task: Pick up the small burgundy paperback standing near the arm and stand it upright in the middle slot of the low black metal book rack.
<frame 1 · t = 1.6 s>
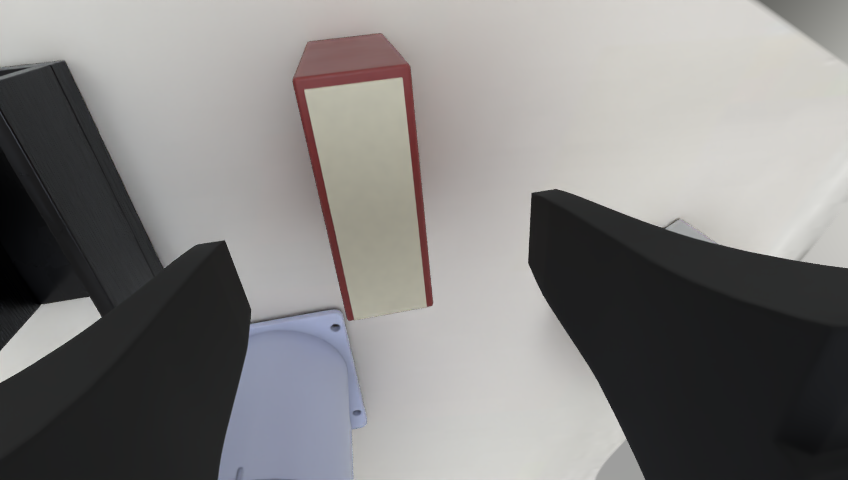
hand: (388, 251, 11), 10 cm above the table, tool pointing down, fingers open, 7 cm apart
book: (360, 135, 20), on the table
soap bottle: (638, 301, 28), on the table
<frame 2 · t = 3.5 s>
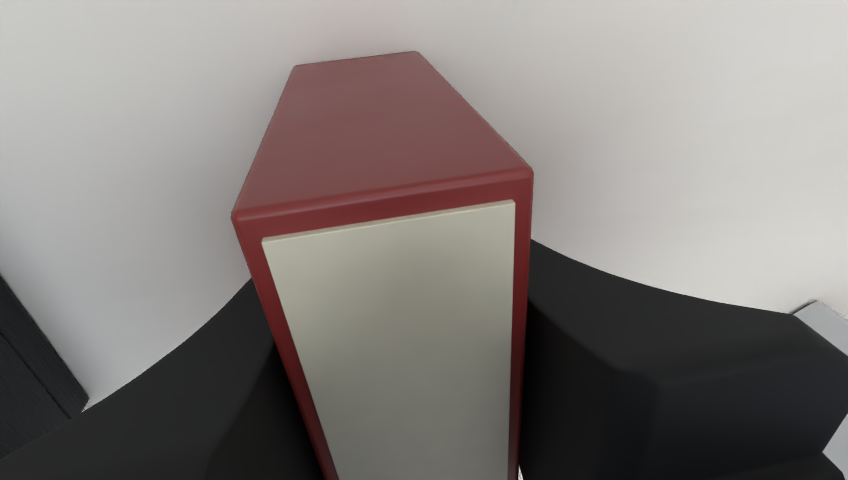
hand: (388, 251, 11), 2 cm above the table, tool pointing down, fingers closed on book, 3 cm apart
book: (379, 206, 13), on the table, touching gripper
soap bottle: (740, 397, 21), on the table
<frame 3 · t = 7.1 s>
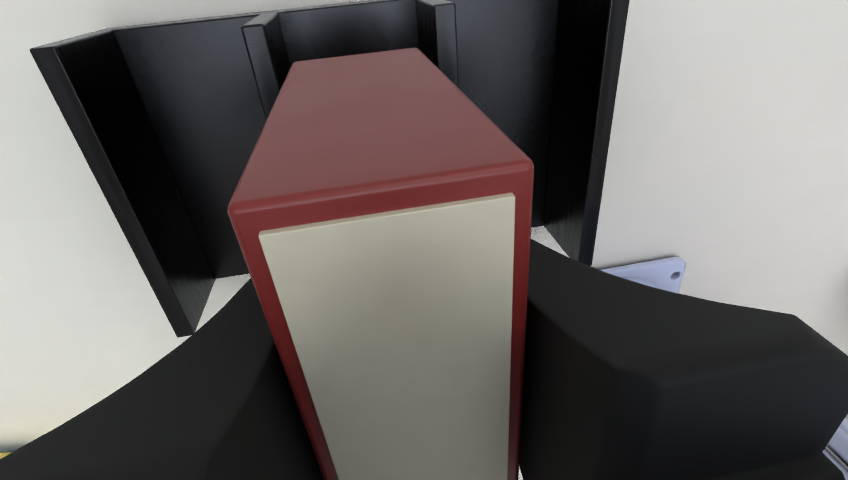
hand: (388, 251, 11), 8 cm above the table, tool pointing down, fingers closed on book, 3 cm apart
rack: (367, 138, 18), on the table
book: (378, 204, 13), point 6 cm above the table, touching gripper
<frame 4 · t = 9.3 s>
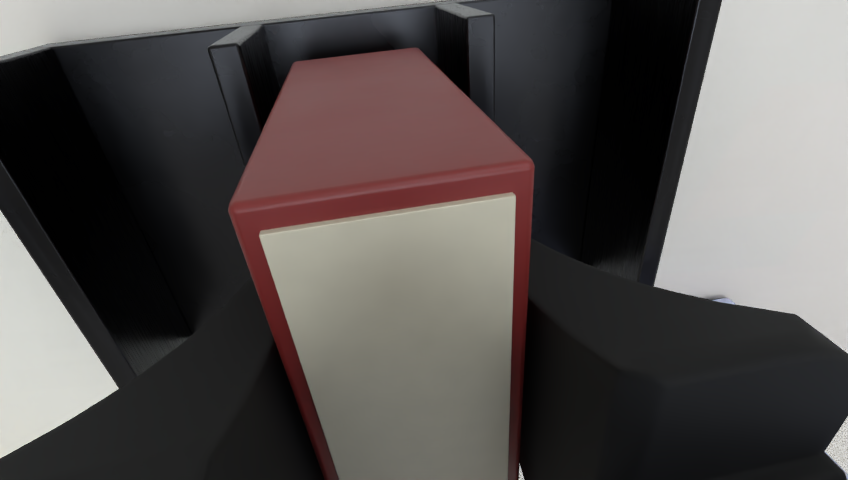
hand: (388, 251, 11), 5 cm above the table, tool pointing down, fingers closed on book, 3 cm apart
rack: (374, 172, 15), on the table
book: (379, 204, 13), point 3 cm above the table, touching gripper
when the fingers open (5 cm above the table, at t = 11.0 s): book drops 2 cm, resting on rack.
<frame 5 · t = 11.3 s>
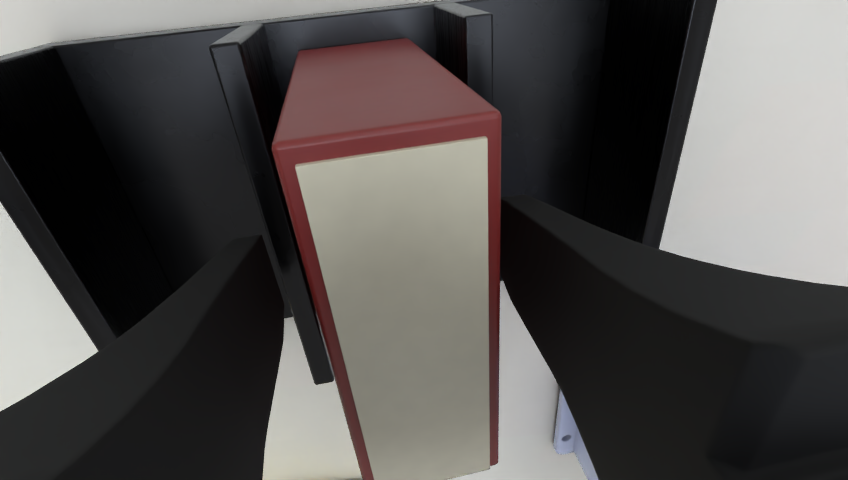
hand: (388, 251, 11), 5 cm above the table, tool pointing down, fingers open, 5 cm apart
rack: (373, 170, 15), on the table
book: (374, 180, 14), point 1 cm above the table, touching rack
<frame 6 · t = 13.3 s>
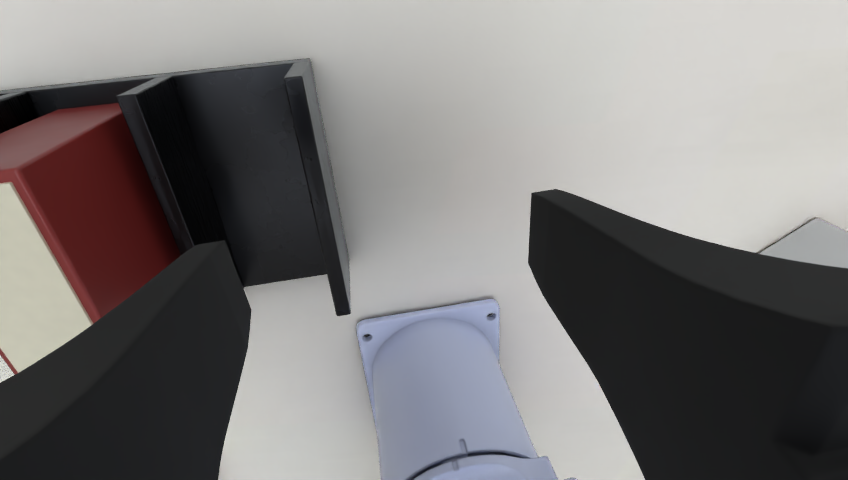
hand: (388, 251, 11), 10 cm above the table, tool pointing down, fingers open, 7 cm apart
rack: (152, 194, 19), on the table
book: (142, 202, 19), point 1 cm above the table, touching rack
soap bottle: (762, 298, 29), on the table
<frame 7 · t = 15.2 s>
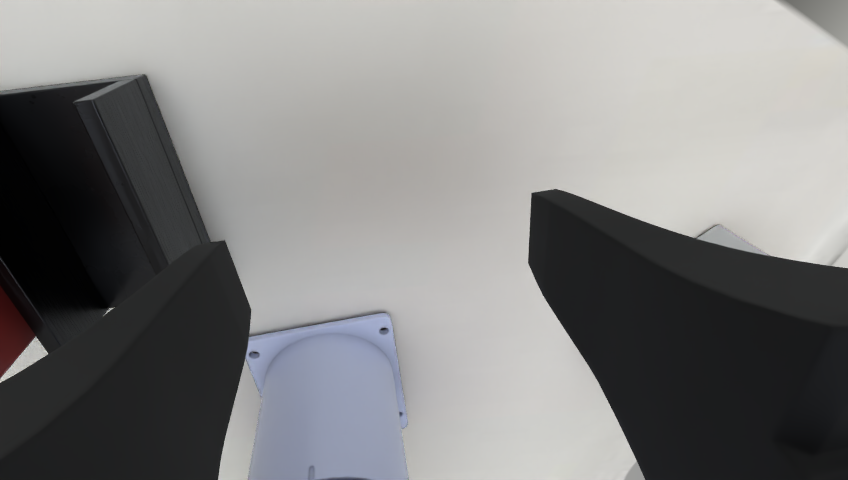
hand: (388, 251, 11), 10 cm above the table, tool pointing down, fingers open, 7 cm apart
soap bottle: (674, 305, 29), on the table
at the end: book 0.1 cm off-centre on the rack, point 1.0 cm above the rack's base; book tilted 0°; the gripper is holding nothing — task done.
